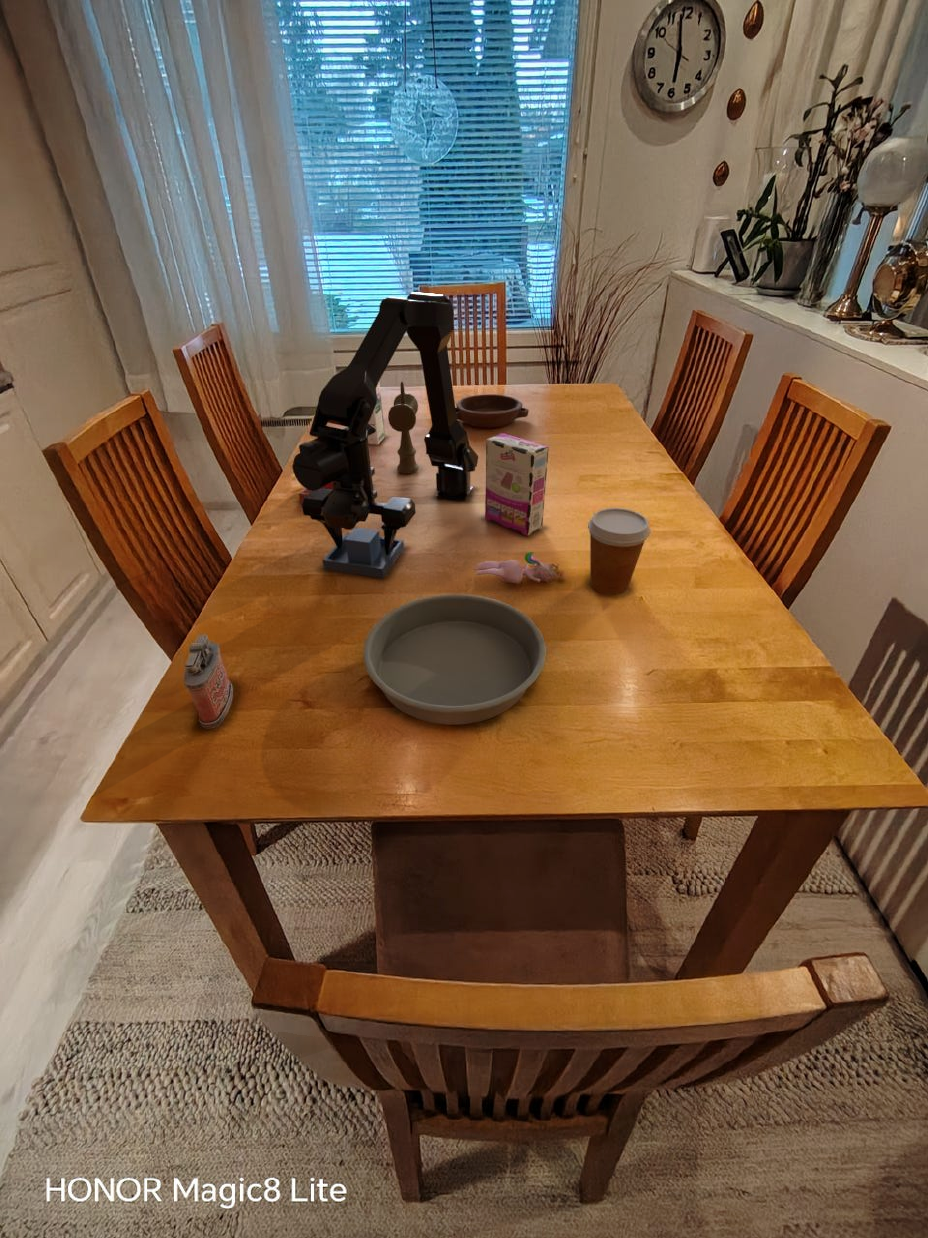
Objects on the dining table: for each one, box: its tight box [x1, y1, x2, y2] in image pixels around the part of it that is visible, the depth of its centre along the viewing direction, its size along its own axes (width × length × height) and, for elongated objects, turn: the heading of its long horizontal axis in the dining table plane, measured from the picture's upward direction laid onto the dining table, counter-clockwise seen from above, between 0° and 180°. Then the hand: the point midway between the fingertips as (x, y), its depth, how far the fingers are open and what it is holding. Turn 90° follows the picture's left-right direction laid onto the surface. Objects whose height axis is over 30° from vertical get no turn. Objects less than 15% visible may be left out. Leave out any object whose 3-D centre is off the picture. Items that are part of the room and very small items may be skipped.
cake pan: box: [362, 593, 547, 726], centre depth 81 cm, size 25×25×4 cm
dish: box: [455, 393, 530, 429], centre depth 162 cm, size 18×22×5 cm
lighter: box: [183, 634, 234, 730], centre depth 74 cm, size 8×3×10 cm, turn 5°
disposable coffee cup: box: [587, 507, 651, 596], centre depth 95 cm, size 10×10×12 cm
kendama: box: [387, 381, 419, 474], centre depth 131 cm, size 6×10×20 cm, turn 179°
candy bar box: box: [484, 432, 550, 537], centre depth 111 cm, size 11×5×16 cm, turn 47°
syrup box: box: [368, 381, 386, 446], centre depth 148 cm, size 6×6×14 cm
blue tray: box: [322, 532, 405, 579], centre depth 105 cm, size 11×10×2 cm
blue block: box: [345, 527, 381, 565], centre depth 104 cm, size 4×4×4 cm
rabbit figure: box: [473, 551, 564, 585], centre depth 98 cm, size 6×6×15 cm
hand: (363, 550), depth 105 cm, fingers open, 9 cm apart
